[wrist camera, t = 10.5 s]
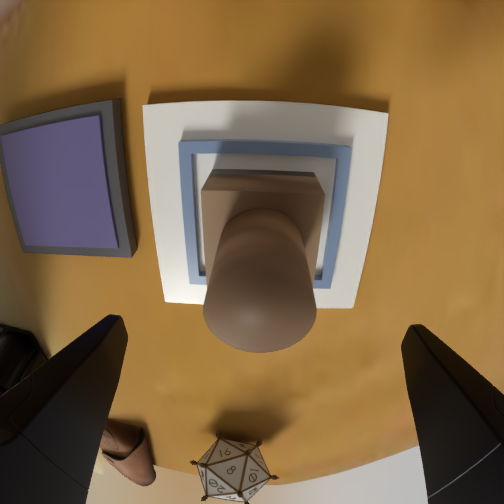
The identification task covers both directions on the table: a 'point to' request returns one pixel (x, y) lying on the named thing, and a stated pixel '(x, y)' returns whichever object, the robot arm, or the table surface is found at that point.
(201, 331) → the table surface
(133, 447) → the sunglasses case
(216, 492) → the game die
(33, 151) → the ink pad
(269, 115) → the print card
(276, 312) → the stamp
